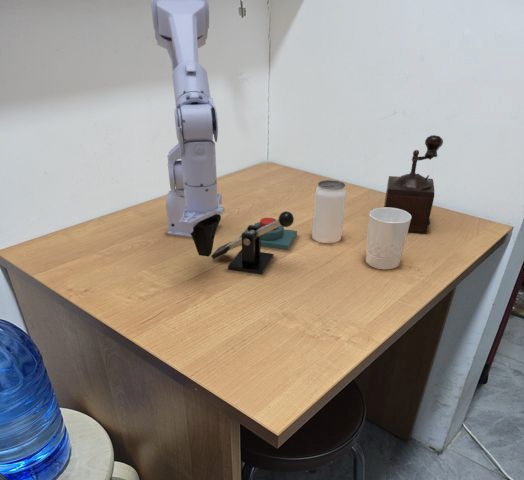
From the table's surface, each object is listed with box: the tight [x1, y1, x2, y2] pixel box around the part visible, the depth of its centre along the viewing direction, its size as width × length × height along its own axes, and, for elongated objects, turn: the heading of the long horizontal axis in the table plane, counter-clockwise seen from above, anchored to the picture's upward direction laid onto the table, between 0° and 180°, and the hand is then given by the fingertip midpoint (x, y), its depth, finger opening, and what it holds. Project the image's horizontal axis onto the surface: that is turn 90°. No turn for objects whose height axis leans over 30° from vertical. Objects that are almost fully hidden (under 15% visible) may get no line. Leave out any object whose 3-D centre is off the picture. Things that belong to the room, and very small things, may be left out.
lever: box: [210, 211, 295, 260], centre depth 94 cm, size 18×4×3 cm
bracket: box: [227, 224, 275, 276], centre depth 95 cm, size 7×8×7 cm
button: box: [259, 217, 277, 231], centre depth 104 cm, size 4×4×2 cm
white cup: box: [365, 206, 412, 270], centre depth 96 cm, size 8×8×10 cm
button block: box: [239, 221, 298, 251], centre depth 106 cm, size 11×8×3 cm
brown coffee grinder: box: [383, 134, 444, 234], centre depth 112 cm, size 16×11×18 cm
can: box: [311, 179, 347, 244], centre depth 104 cm, size 6×6×12 cm
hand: (204, 254), depth 91 cm, fingers closed
